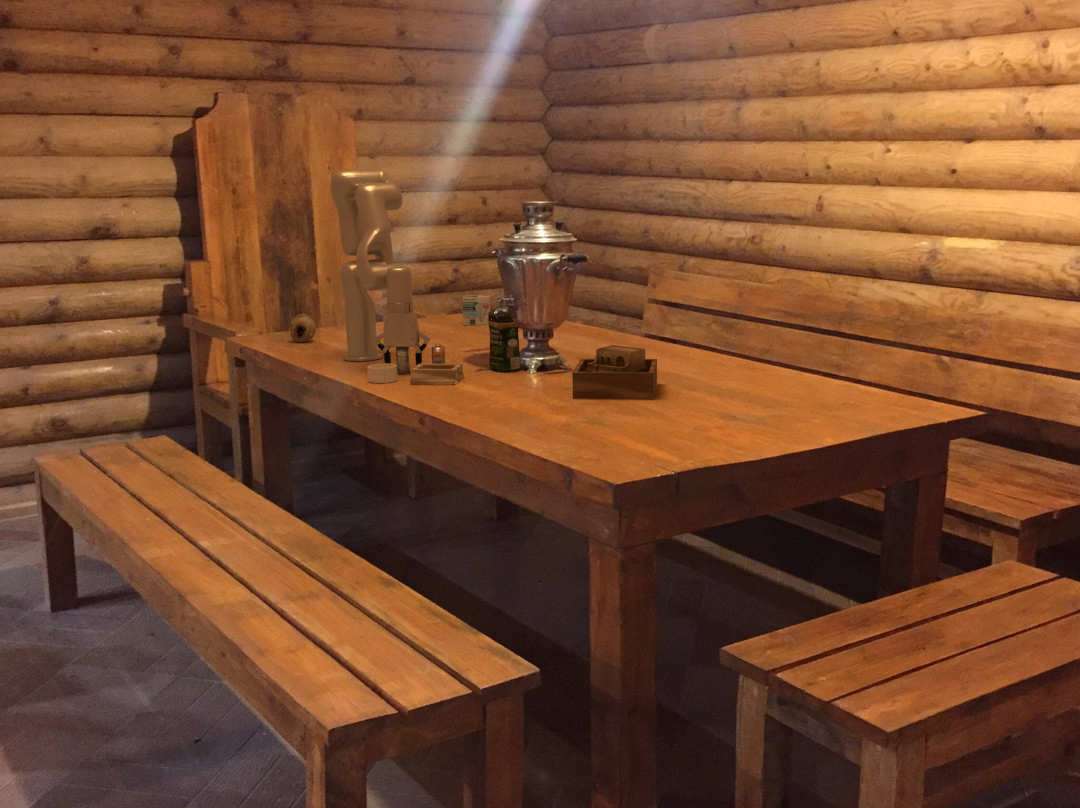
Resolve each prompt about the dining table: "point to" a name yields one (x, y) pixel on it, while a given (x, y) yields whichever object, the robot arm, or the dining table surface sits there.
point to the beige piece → (382, 373)
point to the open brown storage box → (614, 382)
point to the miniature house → (618, 359)
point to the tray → (436, 374)
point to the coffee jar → (503, 343)
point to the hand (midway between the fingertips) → (403, 365)
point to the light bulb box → (476, 309)
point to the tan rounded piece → (302, 328)
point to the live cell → (438, 354)
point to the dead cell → (403, 360)
